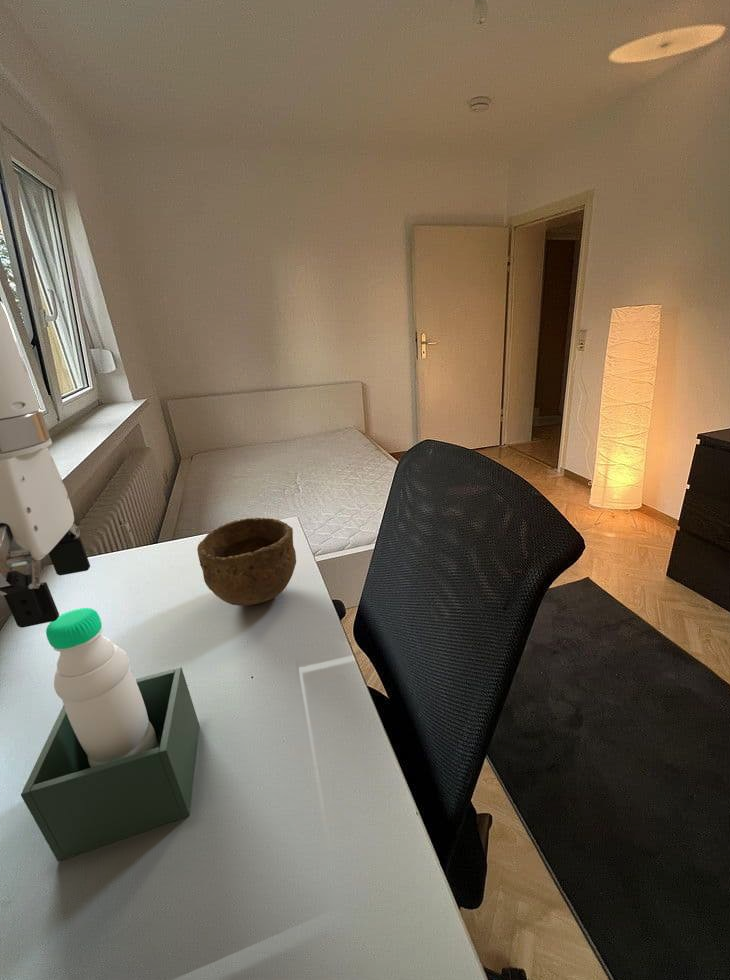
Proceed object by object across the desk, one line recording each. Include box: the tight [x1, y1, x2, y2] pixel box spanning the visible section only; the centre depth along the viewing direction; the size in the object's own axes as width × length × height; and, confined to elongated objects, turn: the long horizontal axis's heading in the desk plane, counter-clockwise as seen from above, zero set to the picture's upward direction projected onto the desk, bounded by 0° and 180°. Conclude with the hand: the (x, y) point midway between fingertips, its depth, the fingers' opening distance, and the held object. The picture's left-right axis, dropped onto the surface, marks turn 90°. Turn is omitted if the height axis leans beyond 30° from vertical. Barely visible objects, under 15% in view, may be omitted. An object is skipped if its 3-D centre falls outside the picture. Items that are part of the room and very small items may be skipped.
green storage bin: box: [20, 666, 200, 862], centre depth 55 cm, size 14×14×11 cm
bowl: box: [196, 517, 297, 606], centre depth 92 cm, size 19×19×15 cm
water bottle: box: [45, 607, 160, 768], centre depth 52 cm, size 7×7×25 cm
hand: (58, 594), depth 46 cm, fingers open, 9 cm apart
